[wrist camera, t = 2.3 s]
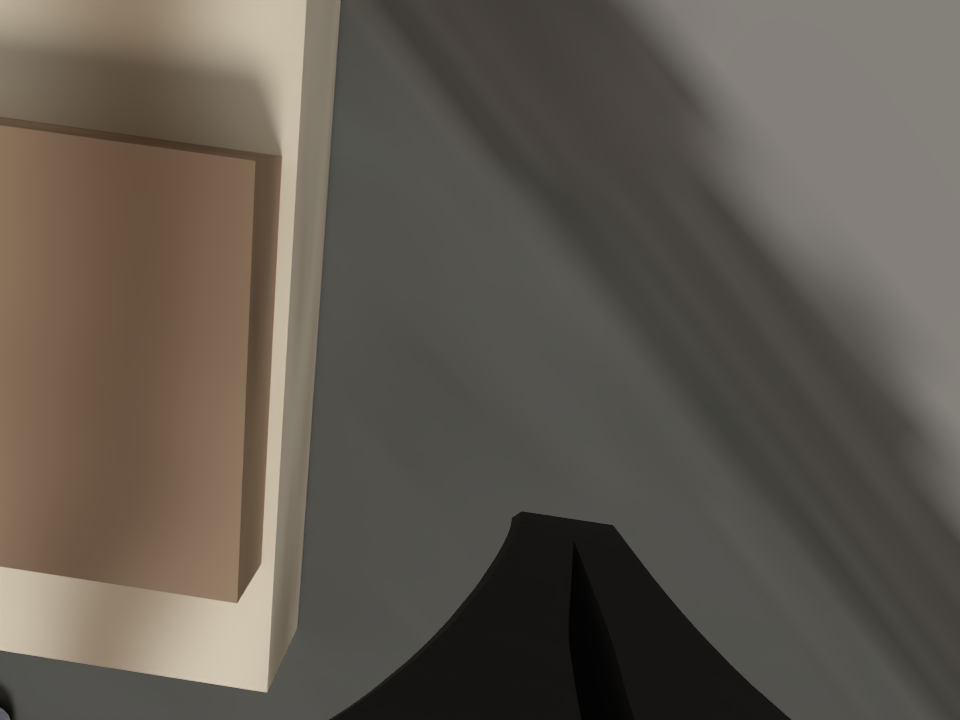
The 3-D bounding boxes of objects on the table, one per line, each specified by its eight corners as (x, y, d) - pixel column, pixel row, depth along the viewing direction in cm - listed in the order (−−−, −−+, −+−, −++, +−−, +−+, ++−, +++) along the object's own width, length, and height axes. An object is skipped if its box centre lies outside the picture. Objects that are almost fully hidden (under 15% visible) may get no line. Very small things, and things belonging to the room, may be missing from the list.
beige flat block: (25, 585, 22) (-39, 644, 19) (-11, -69, 17) (-102, -99, 14) (297, 627, 21) (267, 692, 19) (341, -21, 16) (308, -45, 14)
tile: (2, 524, 18) (-45, 559, 17) (-24, 113, 15) (-82, 113, 14) (260, 564, 18) (236, 603, 16) (282, 156, 15) (255, 160, 14)
